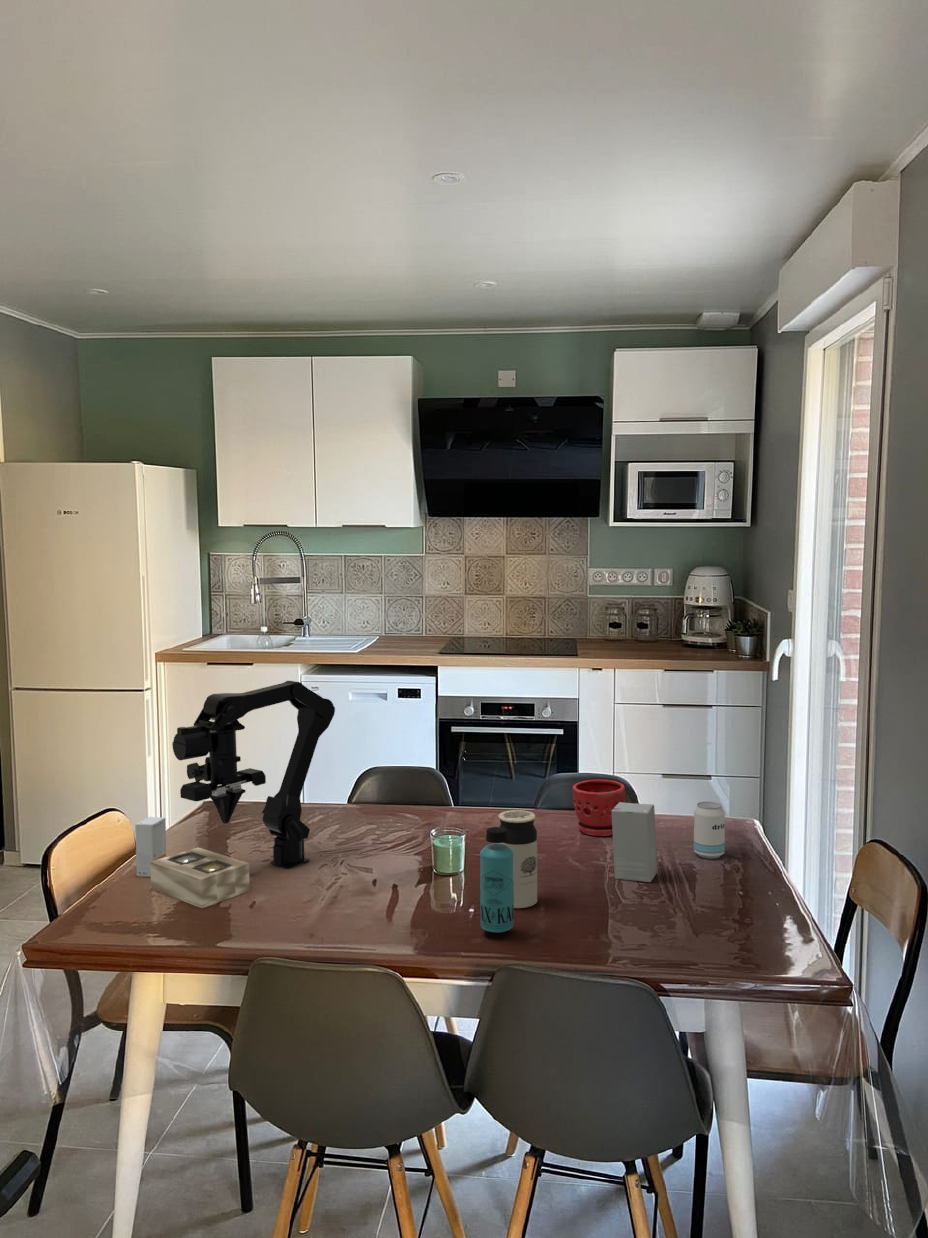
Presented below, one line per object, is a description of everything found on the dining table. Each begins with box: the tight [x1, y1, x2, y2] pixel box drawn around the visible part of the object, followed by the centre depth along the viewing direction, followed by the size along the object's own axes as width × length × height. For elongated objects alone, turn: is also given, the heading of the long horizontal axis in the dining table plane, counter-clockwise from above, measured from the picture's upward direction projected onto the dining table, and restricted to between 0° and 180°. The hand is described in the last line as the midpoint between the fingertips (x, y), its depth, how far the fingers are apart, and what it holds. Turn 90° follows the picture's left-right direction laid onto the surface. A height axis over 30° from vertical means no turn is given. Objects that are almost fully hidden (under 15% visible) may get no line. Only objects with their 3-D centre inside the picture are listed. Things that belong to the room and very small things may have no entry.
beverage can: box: [693, 801, 726, 860], centre depth 214 cm, size 7×7×12 cm
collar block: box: [150, 846, 251, 909], centre depth 197 cm, size 12×18×6 cm, turn 51°
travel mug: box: [497, 809, 538, 909], centre depth 187 cm, size 8×8×18 cm
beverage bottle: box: [478, 826, 515, 933], centre depth 172 cm, size 6×7×20 cm
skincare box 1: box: [134, 816, 167, 878], centre depth 208 cm, size 6×4×12 cm
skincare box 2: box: [611, 802, 658, 883], centre depth 201 cm, size 8×7×16 cm
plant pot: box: [572, 779, 626, 837], centre depth 234 cm, size 13×13×12 cm
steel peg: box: [177, 856, 197, 863], centre depth 199 cm, size 4×4×5 cm
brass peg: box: [202, 864, 222, 872], centre depth 194 cm, size 4×4×5 cm
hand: (225, 823), depth 201 cm, fingers closed
